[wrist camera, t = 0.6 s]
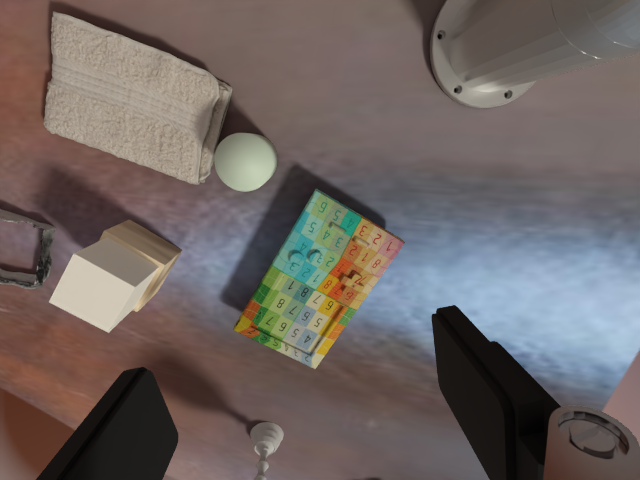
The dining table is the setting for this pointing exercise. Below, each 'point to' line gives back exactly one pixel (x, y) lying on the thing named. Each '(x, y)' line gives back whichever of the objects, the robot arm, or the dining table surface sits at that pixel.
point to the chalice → (265, 444)
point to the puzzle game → (317, 280)
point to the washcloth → (133, 100)
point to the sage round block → (245, 161)
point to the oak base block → (145, 252)
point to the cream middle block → (103, 283)
